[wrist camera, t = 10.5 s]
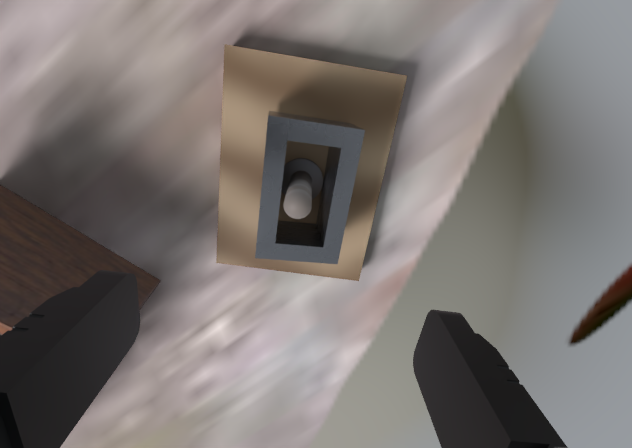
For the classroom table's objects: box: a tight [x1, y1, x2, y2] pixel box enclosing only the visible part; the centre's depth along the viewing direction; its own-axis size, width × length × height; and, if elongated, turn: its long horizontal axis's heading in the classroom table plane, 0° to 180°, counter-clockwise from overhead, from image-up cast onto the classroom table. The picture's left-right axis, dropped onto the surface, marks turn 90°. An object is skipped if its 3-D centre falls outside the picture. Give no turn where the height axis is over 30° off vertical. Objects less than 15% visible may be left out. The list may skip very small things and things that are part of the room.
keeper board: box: [216, 45, 407, 281], centre depth 21 cm, size 16×12×8 cm
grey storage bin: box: [255, 111, 365, 264], centre depth 21 cm, size 9×6×4 cm, turn 171°
